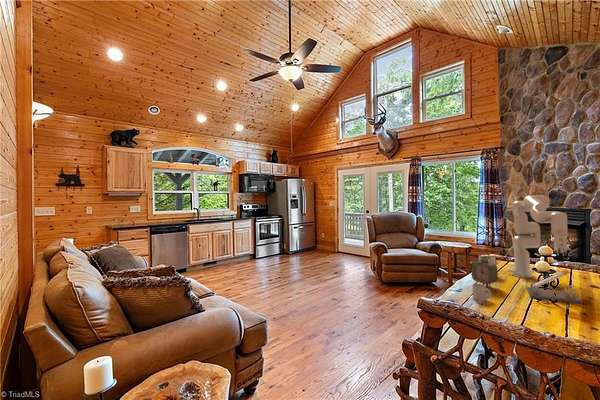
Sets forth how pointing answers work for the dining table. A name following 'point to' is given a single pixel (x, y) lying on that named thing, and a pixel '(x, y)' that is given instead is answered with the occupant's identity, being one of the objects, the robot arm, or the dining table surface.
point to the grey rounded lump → (480, 292)
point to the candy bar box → (489, 258)
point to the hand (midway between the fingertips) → (560, 261)
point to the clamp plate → (562, 296)
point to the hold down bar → (551, 278)
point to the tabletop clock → (484, 271)
